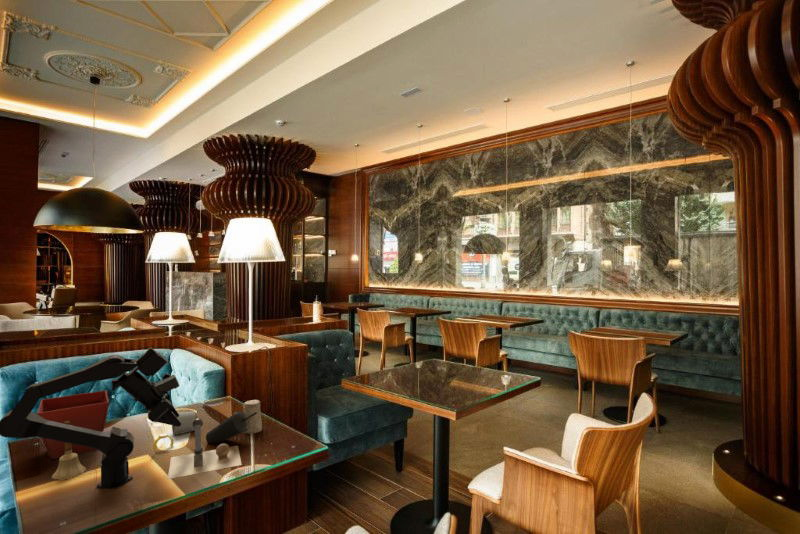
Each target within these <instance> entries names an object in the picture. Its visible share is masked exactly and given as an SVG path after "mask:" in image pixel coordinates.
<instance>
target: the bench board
mask: <svg viewBox="0 0 800 534" xmlns="http://www.w3.org/2000/svg"><path fill="white" fill-rule="evenodd" d="M240 455H241V454H240V450H239V446H238V445H234V446H229V453H228V454H227V459H223V460H218V455H217V454H216V449H211V450H205V451H203V445H201V453H200V454H195V447H194V448H193V453H189V454H182V455H177V456H171V457H170V463H169V467H168V468H169V470H168V472H167V480H171V479H177V478H181V477H186V476H192V475H197V474H202V473H206V472H207V473H208V472H212V471H213V472H214V471H217V470H222V469H228V468H233V467H238V466H242V459H241V456H240Z"/></svg>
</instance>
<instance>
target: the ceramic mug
mask: <svg viewBox="0 0 800 534" xmlns="http://www.w3.org/2000/svg"><path fill="white" fill-rule="evenodd" d="M178 414H179V416H178V417H177V418H178V420H179V421H180V422H181V425H180V426H179V427H177V426H173V425H171V431H172V435H173V436H175V435H181V434H186V433H191V432H195V428H194V427H193V426H192V423H193V421H194V420H195V419H198V414H197V412H196V411H185V412H178Z"/></svg>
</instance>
